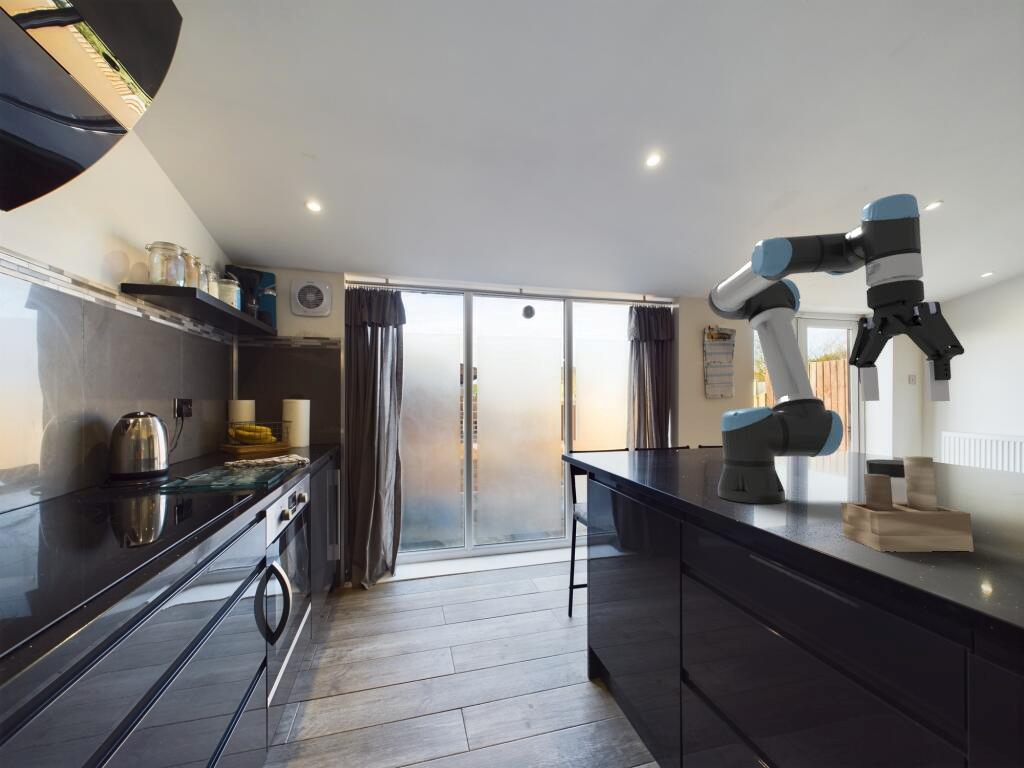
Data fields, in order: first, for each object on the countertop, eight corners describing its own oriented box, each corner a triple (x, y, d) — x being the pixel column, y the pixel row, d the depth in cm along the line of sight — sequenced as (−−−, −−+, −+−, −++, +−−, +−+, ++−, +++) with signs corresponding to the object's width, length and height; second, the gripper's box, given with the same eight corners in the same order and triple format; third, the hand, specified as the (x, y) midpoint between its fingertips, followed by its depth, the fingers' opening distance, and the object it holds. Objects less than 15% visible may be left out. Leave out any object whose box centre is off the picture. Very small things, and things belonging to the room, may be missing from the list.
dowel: (903, 525, 71) (897, 456, 72) (925, 525, 70) (919, 455, 71) (922, 531, 67) (916, 458, 68) (945, 531, 67) (939, 458, 68)
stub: (862, 525, 71) (858, 473, 72) (883, 525, 71) (879, 473, 71) (878, 531, 68) (874, 477, 68) (900, 531, 67) (896, 476, 68)
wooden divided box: (843, 536, 73) (840, 502, 74) (926, 536, 72) (923, 502, 73) (880, 551, 65) (877, 513, 66) (973, 551, 64) (970, 513, 65)
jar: (919, 531, 75) (914, 466, 76) (863, 521, 82) (859, 461, 83) (932, 522, 80) (926, 461, 81) (878, 514, 87) (874, 458, 88)
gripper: (823, 301, 86) (829, 401, 85) (939, 261, 61) (948, 402, 60) (861, 299, 85) (867, 400, 85) (992, 259, 61) (1003, 400, 60)
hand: (901, 401), depth 72 cm, fingers open, 13 cm apart
